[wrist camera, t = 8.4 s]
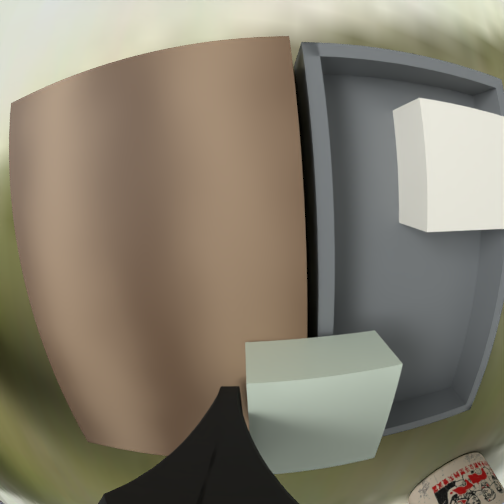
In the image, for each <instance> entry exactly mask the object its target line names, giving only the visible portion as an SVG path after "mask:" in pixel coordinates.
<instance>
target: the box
mask: <svg viewBox="0 0 504 504" xmlns="http://www.w3.org/2000/svg"><path fill="white" fill-rule="evenodd" d="M294 69H295V77H296V86H297V96H298V106H299V116H300V127H301V139H302V152H303V166H304V182H305V200H306V221H307V248H308V300H309V333H308V338H314V337H324V336H333V335H342V334H351V333H359V332H367V331H374V330H375V331H376V332H377V334H378V335H379V336H380V337H381V338H382V339H383V341H384V342H385V343H386V344H387V345H388V347H389V348H390V349H391V350H392V351H393V353H394V354H395V355H396V356H397V357H398V359H399V360H400V361H401V362H402V364H403V365H402V369H401V374H400V378H399V381H398V385H397V389H396V393H395V396H394V400H393V403H392V407H391V410H390V413H389V417H388V420H387V423H386V426H385V429H384V432H383V435H382V436H386V435H390V434H394V433H398V432H402V431H406V430H409V429H413V428H416V427H420V426H423V425H426V424H430V423H433V422H436V421H439V420H442V419H445V418H448V417H450V416H453V415H456V414H459V413H461V412H464V411H466V410H469V409H470V408H471V406H472V403H473V401H474V399H475V396H476V394H477V391H478V388H479V386H480V383H481V380H482V377H483V375H484V372H485V369H486V366H487V363H488V360H489V356H490V353H491V350H492V347H493V343H494V339H495V336H496V332H497V328H498V324H499V320H500V316H501V311H502V306H503V302H504V229H488V230H465V231H443V232H425V231H422V230H419V229H416V228H413V227H410V226H407V225H404V224H401V223H399V185H398V164H397V149H396V138H395V127H394V118H393V110H395V109H397V108H399V107H401V106H403V105H405V104H407V103H409V102H411V101H413V100H415V99H418V98H424V99H430V100H436V101H441V102H447V103H452V104H456V105H461V106H466V107H470V108H474V109H478V110H482V111H486V112H490V113H493V114H497V115H500V116H504V90H503V85H502V81H501V79H499V78H496V77H493V76H491V75H488V74H485V73H482V72H479V71H476V70H473V69H470V68H467V67H463V66H460V65H457V64H453V63H449V62H446V61H442V60H438V59H434V58H430V57H425V56H421V55H416V54H411V53H406V52H400V51H394V50H388V49H382V48H374V47H366V46H357V45H347V44H333V43H312V42H302V43H301V46H300V49H299V52H298V55H297V58H296V62H295V65H294Z"/></svg>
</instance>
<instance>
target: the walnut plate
mask: <svg viewBox="0 0 504 504" xmlns="http://www.w3.org/2000/svg"><path fill="white" fill-rule="evenodd" d="M9 168H10V188H11V200H12V210H13V219H14V227H15V234H16V240H17V246H18V252H19V257H20V262H21V267H22V272H23V276H24V281H25V285H26V289H27V293H28V297H29V301H30V304H31V308H32V311H33V315H34V318H35V321H36V325H37V328H38V331H39V334H40V337H41V340H42V343H43V346H44V348H45V351H46V354H47V357H48V359H49V362H50V364H51V367H52V369H53V372H54V374H55V377H56V379H57V381H58V384H59V386H60V388H61V390H62V393H63V395H64V397H65V399H66V401H67V403H68V405H69V407H70V410H71V412H72V414H73V416H74V417H75V419H76V421H77V423H78V425H79V427H80V429H81V431H82V433H83V434H84V436H85V438H86V440H87V441H88V442H91V443H95V444H99V445H104V446H109V447H113V448H118V449H124V450H129V451H135V452H142V453H149V454H156V455H164V456H168V455H169V454H171V453H172V452H173V451H174V450H175V449H176V448H177V447H178V446H179V445H180V444H181V443H182V442H183V441H184V440H185V439H186V438H187V437H188V436H189V434H190V433H191V432H192V431H193V430H194V428H195V427H196V426H197V425H198V423H199V422H200V421H201V419H202V418H203V417H204V415H205V414H206V412H207V411H208V410H209V408H210V406H211V405H212V403H213V402H214V400H215V398H216V397H217V395H218V392H219V389H220V387H221V386H239V388H240V393H241V401H242V409H243V416H244V419H245V422H246V425H247V428H248V430H249V416H248V401H247V386H246V354H245V342H259V341H276V340H290V339H302V338H307V261H306V230H305V208H304V189H303V173H302V158H301V145H300V132H299V121H298V110H297V100H296V90H295V81H294V72H293V63H292V55H291V47H290V40H289V36H279V37H254V38H240V39H229V40H220V41H211V42H204V43H197V44H191V45H185V46H179V47H174V48H168V49H164V50H159V51H154V52H150V53H146V54H142V55H138V56H134V57H130V58H126V59H123V60H119V61H116V62H112V63H109V64H106V65H102V66H99V67H96V68H93V69H90V70H87V71H85V72H82V73H79V74H76V75H74V76H71V77H68V78H66V79H63V80H61V81H58V82H56V83H54V84H51V85H49V86H47V87H44V88H42V89H40V90H38V91H36V92H33V93H31V94H29V95H27V96H25V97H23V98H21V99H19V100H17V101H15V102H13V103H11V112H10V131H9ZM249 433H250V431H249Z"/></svg>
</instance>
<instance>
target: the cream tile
mask: <svg viewBox="0 0 504 504" xmlns="http://www.w3.org/2000/svg"><path fill="white" fill-rule="evenodd" d="M393 118H394V127H395V138H396V149H397V164H398V185H399V223H401V224H404V225H407V226H410V227H413V228H416V229H419V230H422V231H425V232H443V231H465V230H488V229H504V116H500V115H497V114H493V113H490V112H486V111H482V110H478V109H474V108H470V107H466V106H461V105H456V104H452V103H447V102H441V101H436V100H430V99H424V98H418V99H415V100H413V101H411V102H409V103H407V104H405V105H403V106H401V107H399V108H397V109H395V110H393Z"/></svg>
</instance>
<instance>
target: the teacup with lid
mask: <svg viewBox="0 0 504 504" xmlns="http://www.w3.org/2000/svg"><path fill="white" fill-rule="evenodd" d="M503 502H504V488H503V487H502V485H501V483H500V482H499V480H498V479H497V477H496V475H495V474H494V472H493V471H492V469H491V468H490V466H489V465H488V463H487V462H486V460H485V458H484V457H483V455H482V454H480V453H469V454H466V455H463V456H461V457H458V458H456V459H454V460H452V461H451V462H449V463H447V464H445V465H444V466H442V467H441V468H439V469H437V470H436V471H435V472H433V473H432V474H430V475H429V476H428V477H426V478H425V479H424V480H423V481H422V482H421V483H419V484H418V485H417V486H416V487H415V489H414V490H413V491H412V492H411V494H410V496H409V499H408V503H409V504H502V503H503Z"/></svg>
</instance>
